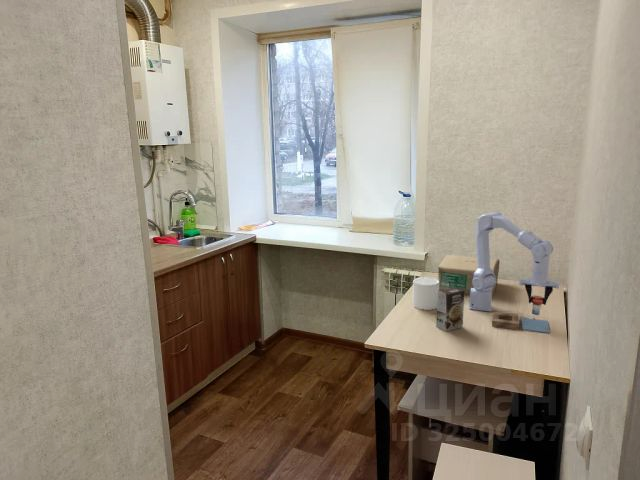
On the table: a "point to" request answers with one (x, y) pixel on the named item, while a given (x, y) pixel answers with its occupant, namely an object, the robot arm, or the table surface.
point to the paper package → (461, 272)
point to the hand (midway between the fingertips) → (537, 303)
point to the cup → (425, 293)
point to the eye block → (505, 320)
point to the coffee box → (450, 308)
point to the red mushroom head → (536, 304)
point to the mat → (535, 325)
